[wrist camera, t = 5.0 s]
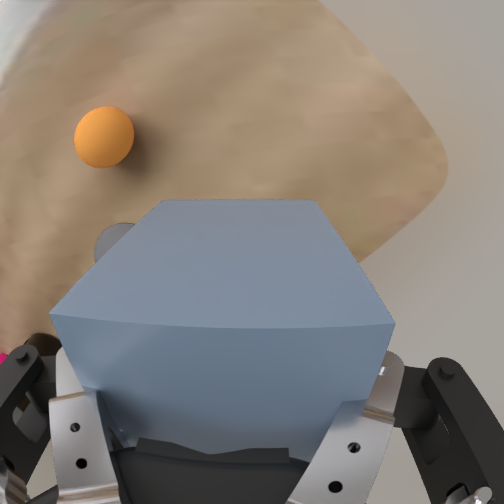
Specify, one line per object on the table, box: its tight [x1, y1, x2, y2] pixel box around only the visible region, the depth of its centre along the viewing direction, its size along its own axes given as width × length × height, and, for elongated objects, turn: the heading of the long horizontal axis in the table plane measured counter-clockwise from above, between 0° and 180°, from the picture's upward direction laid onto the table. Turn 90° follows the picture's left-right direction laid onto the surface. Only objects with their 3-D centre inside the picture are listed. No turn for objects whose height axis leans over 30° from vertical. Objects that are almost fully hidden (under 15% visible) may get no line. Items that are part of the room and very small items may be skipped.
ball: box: [74, 107, 134, 168], centre depth 20 cm, size 5×5×5 cm
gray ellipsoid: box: [94, 223, 136, 263], centre depth 27 cm, size 8×8×1 cm
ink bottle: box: [13, 333, 63, 424], centre depth 28 cm, size 10×9×12 cm
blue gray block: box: [49, 199, 395, 463], centre depth 10 cm, size 7×7×9 cm
